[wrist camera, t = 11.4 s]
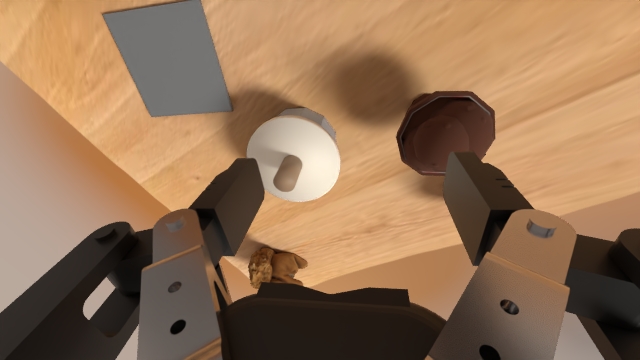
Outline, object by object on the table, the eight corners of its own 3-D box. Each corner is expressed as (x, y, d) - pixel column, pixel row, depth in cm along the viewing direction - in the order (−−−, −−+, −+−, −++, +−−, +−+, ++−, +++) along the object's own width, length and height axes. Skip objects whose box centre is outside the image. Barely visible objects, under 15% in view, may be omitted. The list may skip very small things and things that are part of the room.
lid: (238, 118, 37) (218, 136, 32) (336, 111, 34) (331, 129, 29) (261, 197, 44) (248, 222, 39) (343, 196, 42) (341, 222, 37)
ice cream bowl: (399, 153, 43) (414, 211, 30) (383, 87, 37) (394, 125, 25) (469, 135, 40) (518, 192, 27) (463, 60, 34) (521, 89, 22)
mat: (105, 14, 37) (102, 14, 37) (200, -1, 34) (198, -1, 34) (153, 115, 45) (151, 117, 45) (233, 109, 42) (231, 111, 42)
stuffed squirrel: (287, 281, 66) (272, 334, 55) (243, 250, 62) (218, 301, 51) (314, 266, 62) (304, 321, 51) (269, 231, 57) (247, 283, 46)
